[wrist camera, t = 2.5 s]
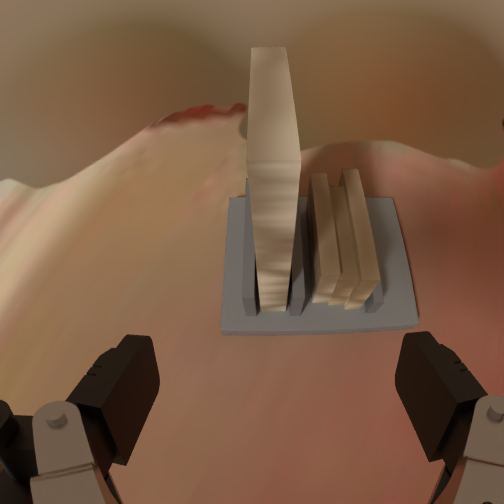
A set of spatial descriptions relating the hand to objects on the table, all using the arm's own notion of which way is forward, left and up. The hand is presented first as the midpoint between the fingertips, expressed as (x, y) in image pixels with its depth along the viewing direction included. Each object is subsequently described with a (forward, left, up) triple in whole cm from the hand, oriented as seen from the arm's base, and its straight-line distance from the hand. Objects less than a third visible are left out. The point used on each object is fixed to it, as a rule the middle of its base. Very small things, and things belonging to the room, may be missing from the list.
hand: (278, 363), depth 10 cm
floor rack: (-5, -15, -22) cm, 27 cm away
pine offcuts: (-6, -15, -20) cm, 26 cm away
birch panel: (0, -15, -20) cm, 25 cm away
